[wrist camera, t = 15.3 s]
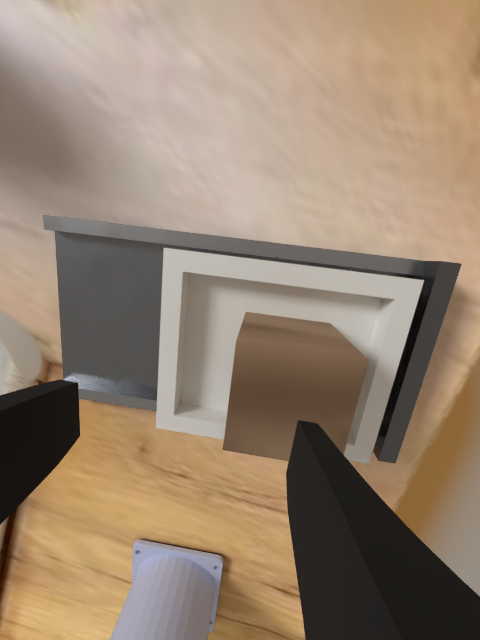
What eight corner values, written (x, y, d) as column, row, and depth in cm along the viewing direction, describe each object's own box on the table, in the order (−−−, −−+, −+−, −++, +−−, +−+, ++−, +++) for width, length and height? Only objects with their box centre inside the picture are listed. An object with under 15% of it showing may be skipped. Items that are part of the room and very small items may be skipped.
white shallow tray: (347, 423, 17) (369, 463, 14) (176, 395, 18) (155, 427, 14) (386, 275, 15) (424, 280, 11) (185, 250, 15) (163, 247, 12)
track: (376, 434, 18) (395, 463, 15) (70, 385, 19) (40, 404, 17) (427, 263, 15) (461, 263, 12) (61, 218, 16) (24, 211, 14)
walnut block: (313, 398, 14) (339, 469, 9) (236, 386, 15) (222, 449, 10) (330, 323, 13) (368, 360, 8) (245, 311, 13) (235, 341, 9)
